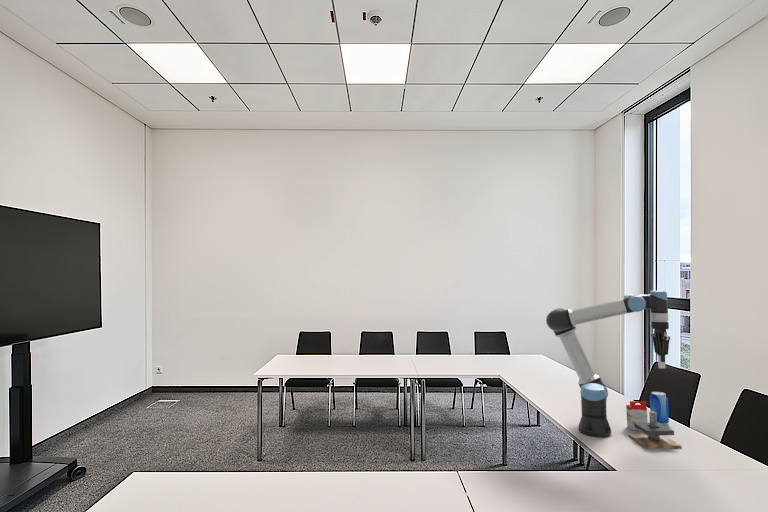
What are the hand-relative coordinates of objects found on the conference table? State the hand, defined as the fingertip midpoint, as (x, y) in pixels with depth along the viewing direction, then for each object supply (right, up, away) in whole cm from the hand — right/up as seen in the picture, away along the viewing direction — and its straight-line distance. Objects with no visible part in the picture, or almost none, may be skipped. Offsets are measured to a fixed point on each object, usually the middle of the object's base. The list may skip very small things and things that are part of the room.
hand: (662, 368), depth 230 cm
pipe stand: (-12, -32, -13) cm, 37 cm away
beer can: (+7, -33, +13) cm, 37 cm away
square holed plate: (-12, -27, -13) cm, 32 cm away
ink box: (-9, -33, +6) cm, 35 cm away
